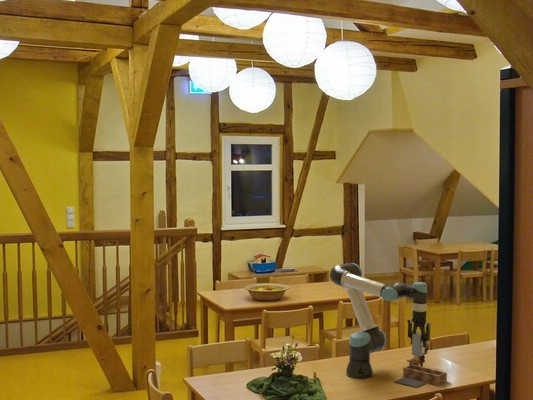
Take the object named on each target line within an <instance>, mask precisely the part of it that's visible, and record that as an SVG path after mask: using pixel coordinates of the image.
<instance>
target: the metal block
mask: <svg viewBox="0 0 533 400" xmlns="http://www.w3.org/2000/svg"><path fill="white" fill-rule="evenodd" d="M421 341H423V339H422V334H421V331H416V332H415V333H413V336H412V345H411V355H412V356H422V355H424V353H421ZM424 356H425V355H424Z"/></svg>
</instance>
